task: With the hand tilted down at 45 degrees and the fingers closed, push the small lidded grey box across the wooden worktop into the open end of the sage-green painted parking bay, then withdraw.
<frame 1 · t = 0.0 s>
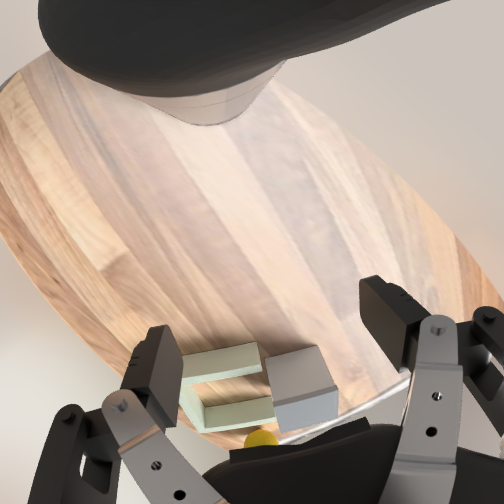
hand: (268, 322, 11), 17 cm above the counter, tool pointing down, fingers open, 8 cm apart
lidded grey box: (293, 367, 36), on the counter
bay: (224, 382, 35), on the counter
lemon: (258, 428, 41), on the counter
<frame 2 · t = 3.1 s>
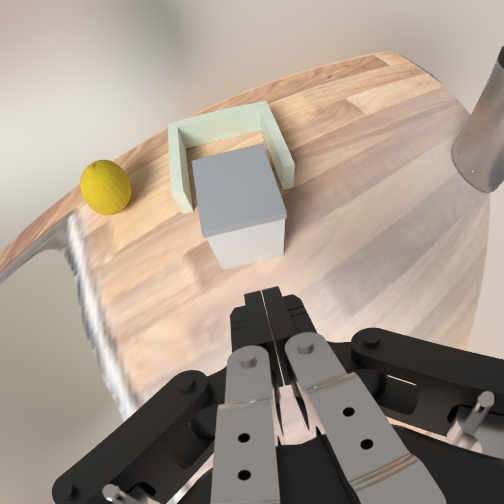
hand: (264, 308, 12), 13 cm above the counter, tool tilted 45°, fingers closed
lidded grey box: (245, 231, 29), on the counter
bay: (229, 163, 33), on the counter
lemon: (121, 207, 32), on the counter
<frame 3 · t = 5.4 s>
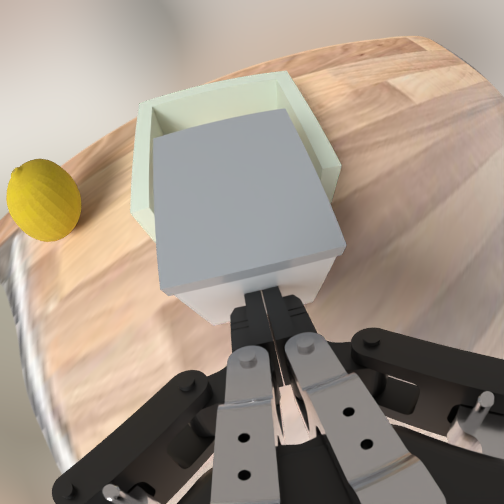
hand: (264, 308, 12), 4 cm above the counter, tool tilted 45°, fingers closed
lidded grey box: (250, 260, 18), on the counter, touching gripper
bay: (229, 160, 21), on the counter
lemon: (73, 227, 20), on the counter
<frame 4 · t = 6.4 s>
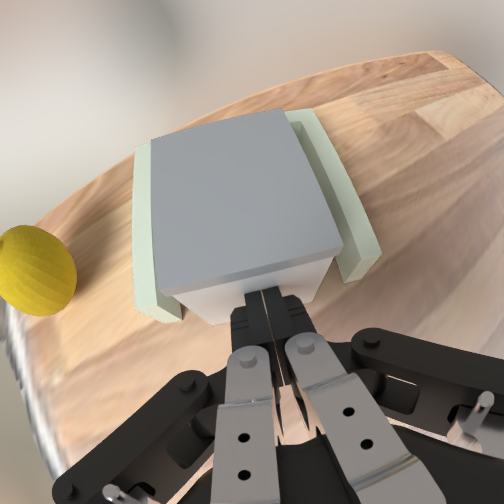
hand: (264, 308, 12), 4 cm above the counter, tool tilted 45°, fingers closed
lidded grey box: (248, 260, 18), on the counter, touching gripper
bay: (244, 222, 19), on the counter
lemon: (70, 291, 18), on the counter
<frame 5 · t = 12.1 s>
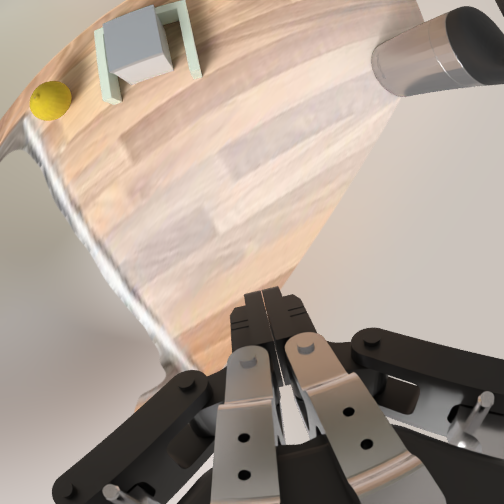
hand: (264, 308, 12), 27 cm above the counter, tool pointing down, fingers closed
lidded grey box: (148, 56, 29), on the counter
bay: (150, 55, 29), on the counter
lemon: (65, 103, 30), on the counter
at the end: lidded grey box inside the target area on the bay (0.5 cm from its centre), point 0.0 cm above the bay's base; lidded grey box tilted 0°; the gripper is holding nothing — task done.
